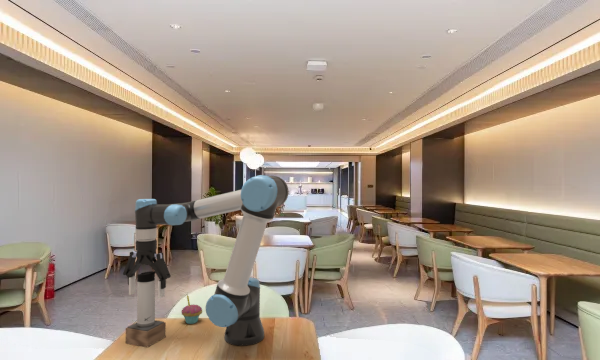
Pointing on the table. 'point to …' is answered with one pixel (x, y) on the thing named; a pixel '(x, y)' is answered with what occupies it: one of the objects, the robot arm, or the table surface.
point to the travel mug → (146, 299)
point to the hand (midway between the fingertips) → (146, 295)
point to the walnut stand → (145, 334)
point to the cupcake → (191, 312)
